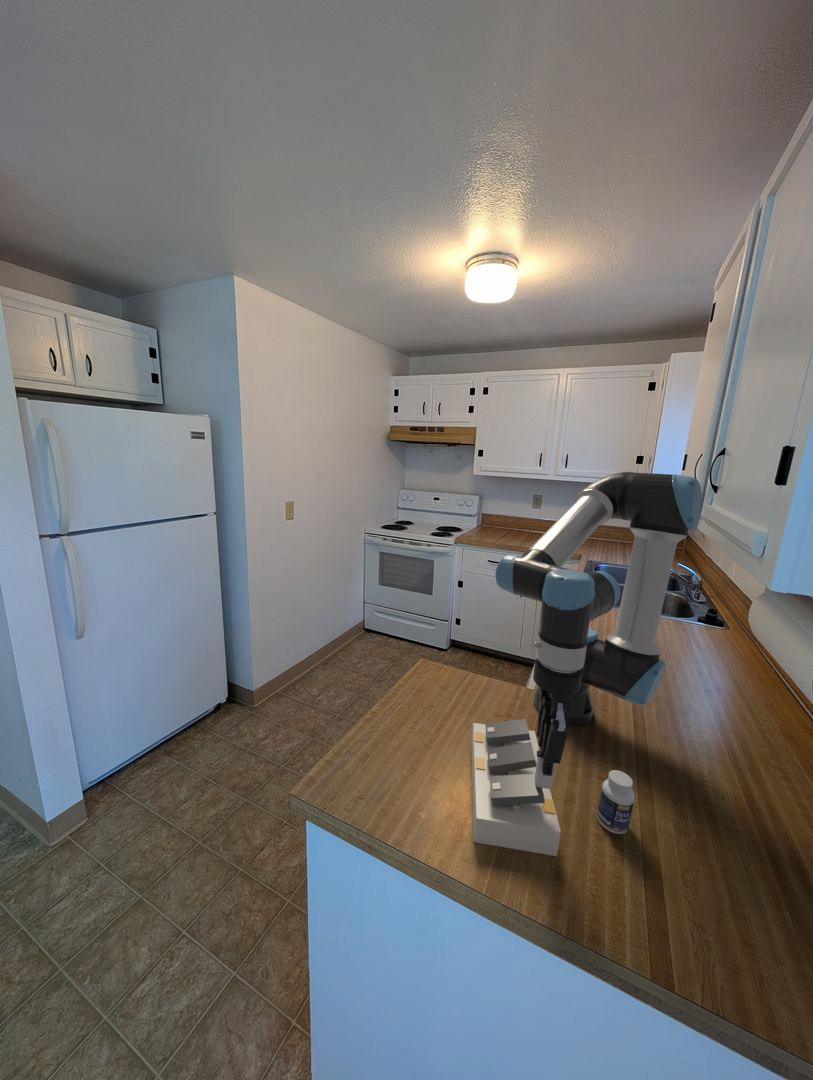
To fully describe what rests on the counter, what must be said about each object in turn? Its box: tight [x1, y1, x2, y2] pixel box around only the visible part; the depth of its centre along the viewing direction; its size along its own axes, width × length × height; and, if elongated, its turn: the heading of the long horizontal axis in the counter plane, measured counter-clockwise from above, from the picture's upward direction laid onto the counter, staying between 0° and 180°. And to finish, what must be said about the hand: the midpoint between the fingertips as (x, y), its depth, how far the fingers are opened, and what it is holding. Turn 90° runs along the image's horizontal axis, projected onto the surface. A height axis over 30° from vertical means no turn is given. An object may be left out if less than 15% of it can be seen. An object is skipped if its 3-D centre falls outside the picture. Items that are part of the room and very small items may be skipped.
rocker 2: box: [487, 742, 536, 774], centre depth 81 cm, size 9×5×2 cm, turn 82°
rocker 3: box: [490, 774, 545, 806], centre depth 74 cm, size 9×5×2 cm, turn 82°
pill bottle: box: [596, 769, 636, 835], centre depth 76 cm, size 5×5×10 cm
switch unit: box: [470, 722, 562, 857], centre depth 82 cm, size 14×26×6 cm, turn 172°
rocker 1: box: [484, 718, 530, 745], centre depth 89 cm, size 9×5×2 cm, turn 82°
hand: (543, 784), depth 72 cm, fingers closed
